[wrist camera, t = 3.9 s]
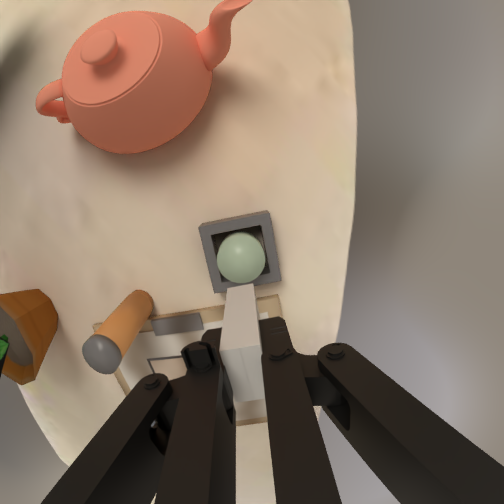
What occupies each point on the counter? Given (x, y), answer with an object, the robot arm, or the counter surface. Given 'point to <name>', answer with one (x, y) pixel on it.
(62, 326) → the counter surface
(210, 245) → the button base
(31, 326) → the potted plant
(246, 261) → the button
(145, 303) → the orange marker
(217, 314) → the clipboard
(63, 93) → the teapot
